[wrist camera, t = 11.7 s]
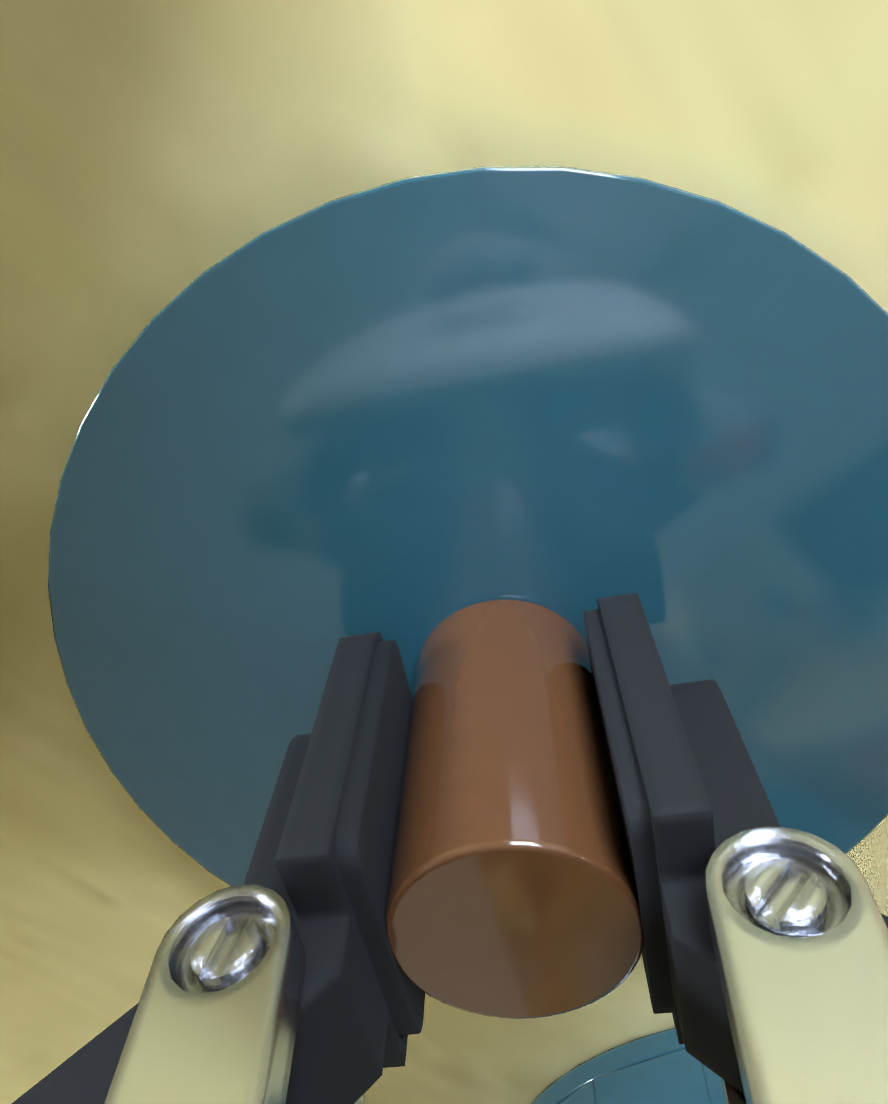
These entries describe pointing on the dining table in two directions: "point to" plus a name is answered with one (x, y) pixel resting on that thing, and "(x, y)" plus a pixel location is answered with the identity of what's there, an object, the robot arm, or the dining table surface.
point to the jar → (638, 1076)
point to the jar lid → (487, 539)
